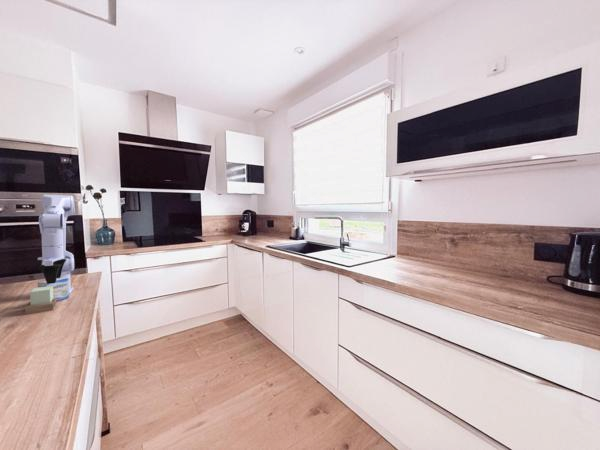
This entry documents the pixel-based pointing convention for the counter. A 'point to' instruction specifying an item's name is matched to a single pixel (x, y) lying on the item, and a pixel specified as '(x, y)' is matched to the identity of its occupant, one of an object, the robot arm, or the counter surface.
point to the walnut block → (40, 307)
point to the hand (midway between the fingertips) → (53, 280)
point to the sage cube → (41, 295)
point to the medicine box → (58, 288)
